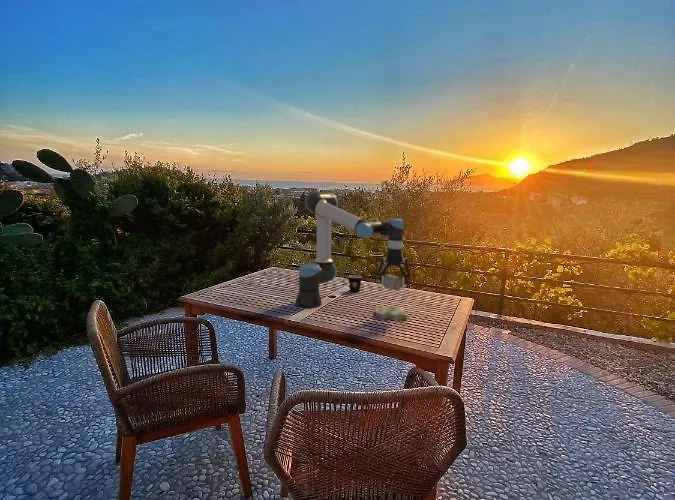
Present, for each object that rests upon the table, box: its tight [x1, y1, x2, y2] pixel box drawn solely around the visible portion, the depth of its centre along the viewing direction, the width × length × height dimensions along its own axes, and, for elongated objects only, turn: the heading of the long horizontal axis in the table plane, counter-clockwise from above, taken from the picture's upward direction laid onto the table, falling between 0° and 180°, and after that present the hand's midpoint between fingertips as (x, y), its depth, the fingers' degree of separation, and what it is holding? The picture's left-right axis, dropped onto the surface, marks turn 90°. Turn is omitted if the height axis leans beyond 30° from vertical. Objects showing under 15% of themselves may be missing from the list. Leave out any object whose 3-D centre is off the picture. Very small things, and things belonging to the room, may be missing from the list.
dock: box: [375, 305, 408, 321], centre depth 204 cm, size 16×12×3 cm
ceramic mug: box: [383, 273, 403, 291], centre depth 202 cm, size 11×8×8 cm
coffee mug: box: [342, 274, 363, 293], centre depth 251 cm, size 12×9×10 cm
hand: (392, 288), depth 202 cm, fingers closed on ceramic mug, 10 cm apart
